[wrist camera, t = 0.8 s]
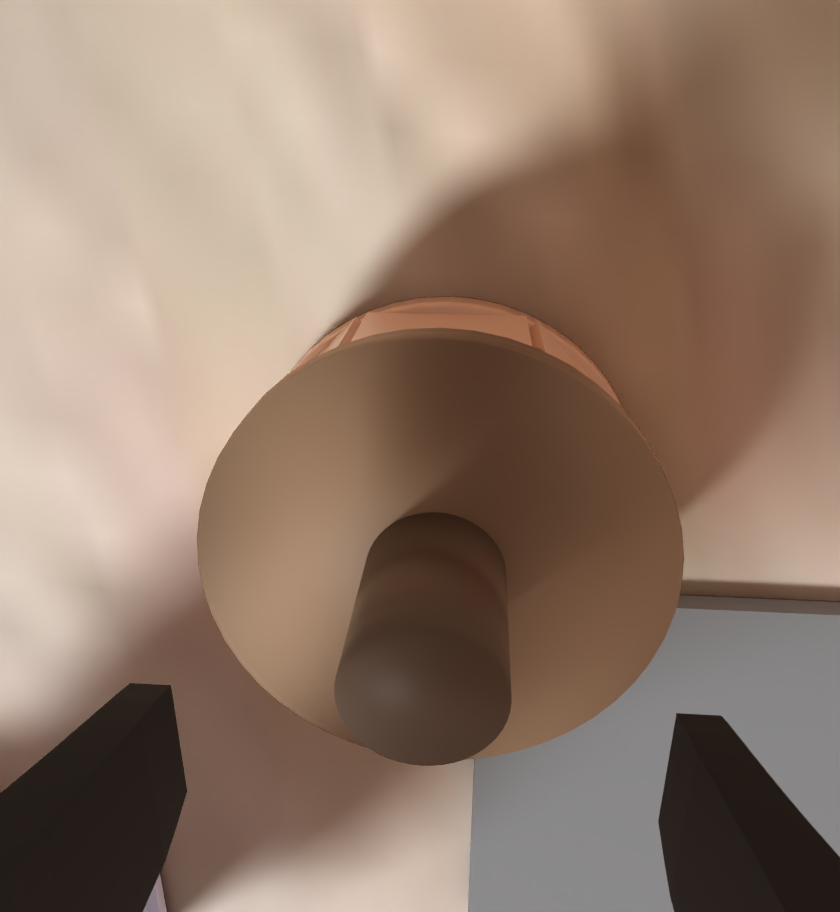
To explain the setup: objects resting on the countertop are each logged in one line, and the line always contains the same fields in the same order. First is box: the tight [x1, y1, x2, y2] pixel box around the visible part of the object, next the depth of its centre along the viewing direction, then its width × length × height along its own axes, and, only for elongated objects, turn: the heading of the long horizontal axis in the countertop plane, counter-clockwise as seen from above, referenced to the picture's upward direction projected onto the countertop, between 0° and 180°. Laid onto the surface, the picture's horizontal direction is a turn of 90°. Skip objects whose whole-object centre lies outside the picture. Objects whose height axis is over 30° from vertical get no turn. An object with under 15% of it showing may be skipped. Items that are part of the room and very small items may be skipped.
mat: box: [468, 595, 840, 912], centre depth 23 cm, size 12×12×1 cm
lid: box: [197, 328, 684, 766], centre depth 15 cm, size 10×10×4 cm
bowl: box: [290, 297, 621, 405], centre depth 18 cm, size 9×9×4 cm
